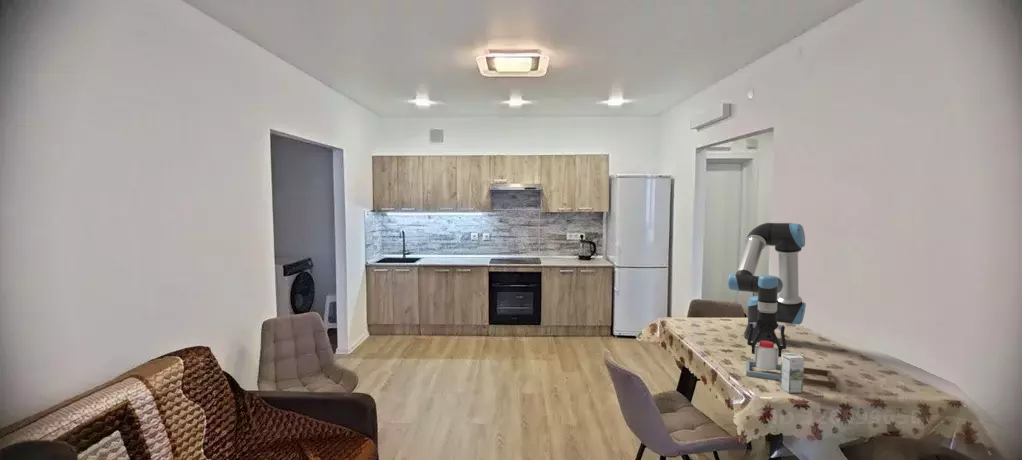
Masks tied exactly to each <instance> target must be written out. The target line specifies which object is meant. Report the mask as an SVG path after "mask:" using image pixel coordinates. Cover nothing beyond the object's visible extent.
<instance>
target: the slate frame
mask: <svg viewBox="0 0 1022 460" xmlns="http://www.w3.org/2000/svg"><path fill="white" fill-rule="evenodd" d="M745 364H746V366H745V367H746V369H745V370H746V373H745V375H746V377H752V378H753V377H754V378H760V379H767V380H774V379H775V380H776V379H777V380H776V381H781V374H779V373H768V372H761V371H753V370H750V367H756V368H758V367H757V366H756V362H754V360H750V359H748V360H747V359H746V362H745ZM775 370H779V371H781V363H780V364H779V363H778V365H776V369H775Z"/></svg>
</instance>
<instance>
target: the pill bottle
mask: <svg viewBox="0 0 1022 460" xmlns="http://www.w3.org/2000/svg"><path fill="white" fill-rule="evenodd" d="M774 345H775V343H774V342H770V341H760V342H759V344H757V345H756V346H757V355H756V366H757V367H756V366H755V367H756V368H758V369H760V370H766V371H774V370H777V369H776V348H777V347H775V346H774Z"/></svg>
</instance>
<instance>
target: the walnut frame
mask: <svg viewBox="0 0 1022 460" xmlns="http://www.w3.org/2000/svg"><path fill="white" fill-rule="evenodd" d="M804 373H805V374H813V375H820V376H825V377H826V376H827V378H828V380H823V379H815V378H806V377H803V383H805V385H812V386H818V387H825V388H826V387H827V388H832V389H833V388H834V389H836V388H837V382H836V380H835V377H834V375H833V373H832V371H831V370H828V369H821V368H813V367H812V368H811V367H806V366H805V367H804V370H803V374H804Z"/></svg>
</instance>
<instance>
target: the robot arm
mask: <svg viewBox="0 0 1022 460" xmlns="http://www.w3.org/2000/svg"><path fill="white" fill-rule="evenodd" d="M768 246H770V247H772V246H773V247H774V250H775V252H777V253H778V276H775V275H771V274H770V275H769V274H765V275H755V273H756V270H757V267H758V264H759V261H760V258H761V255H762V252H763V250H764V249H766V247H768ZM805 246H806V235H805V229H804V227H803V225H802V224H800V223H793V222H765V223H762V224H759V225H757V226H756V227H754V228H753V229H751V231H749V233H748V235H747V236H746V239H745V248H744V250H743V254H742V255H741V259H740V261H739V265H738V267H737V269H736V272H735V273H731V274H729V275H728V278H727V287H728V289H729V290H731V291H737V292H748V293H756V294H757V295H753V296H750V297H749V299H748V301H747V302H748V303H747V325H746V326H745V329H744V333H743V338H744V339H745V340H747V341H746V342H747V346H750V347H751V354H752V355H753V356H754V360H753V361H754V362H756V355H757V346H758V345H757V343H758V342H759V343H760V341H770V342H773V343H774V342H775V344H776V346H777V347H775V348H776V365H778V364H779V358H781V357H782V351H783V350H786V349H787V344H786V343H787V342H786V337H785V329H786V327H785V325H784V324H790V325H801V324H802V323H803V320H804V316H805V313H806V306H807V304H806V303H805V302H804V301H803V299H802V297H801V296H799V253H800V252H801V251H802V248H804V247H805ZM778 323H782V324H783V325H782V324H778ZM777 328H778V329H779V331H780V336H781V343H782V345H781V344H780V341H779V339H778V336H777V333H776V332H775V331H776V330H777Z"/></svg>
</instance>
